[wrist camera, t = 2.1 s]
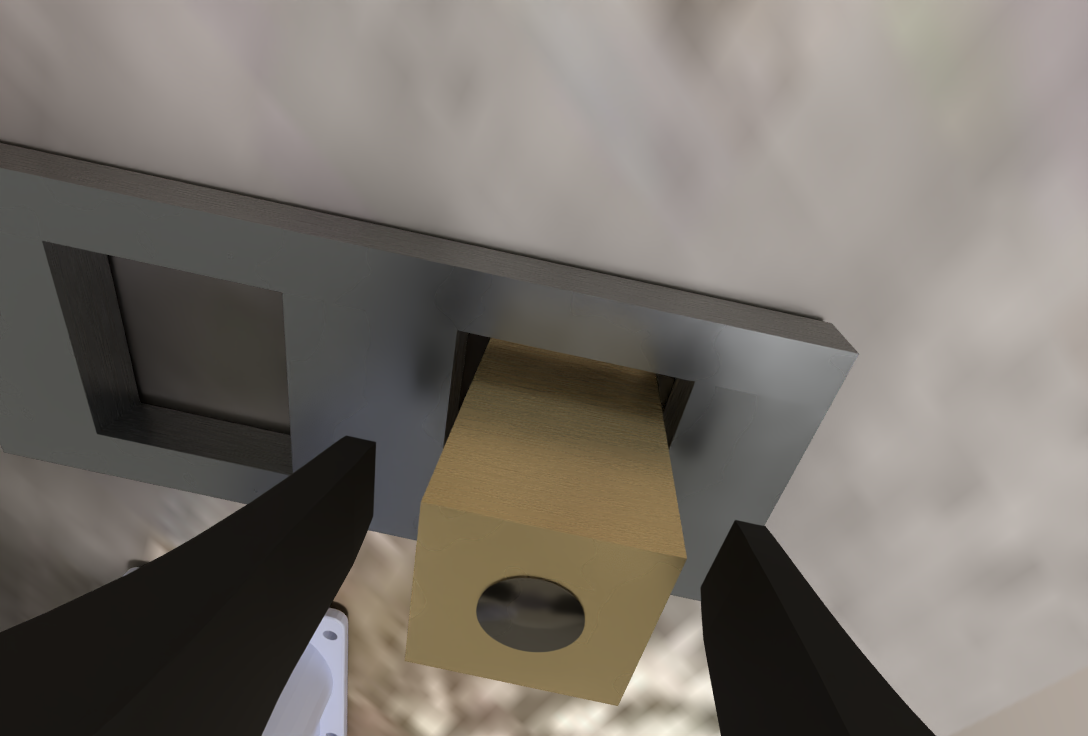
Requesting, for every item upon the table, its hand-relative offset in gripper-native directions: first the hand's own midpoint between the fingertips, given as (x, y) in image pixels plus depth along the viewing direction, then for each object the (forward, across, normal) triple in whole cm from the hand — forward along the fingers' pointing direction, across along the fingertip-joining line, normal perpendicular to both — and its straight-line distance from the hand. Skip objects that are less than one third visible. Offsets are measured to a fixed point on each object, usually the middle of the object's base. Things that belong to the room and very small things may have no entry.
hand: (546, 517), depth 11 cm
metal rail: (+4, +5, 0) cm, 6 cm away
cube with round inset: (+4, 0, 0) cm, 4 cm away
